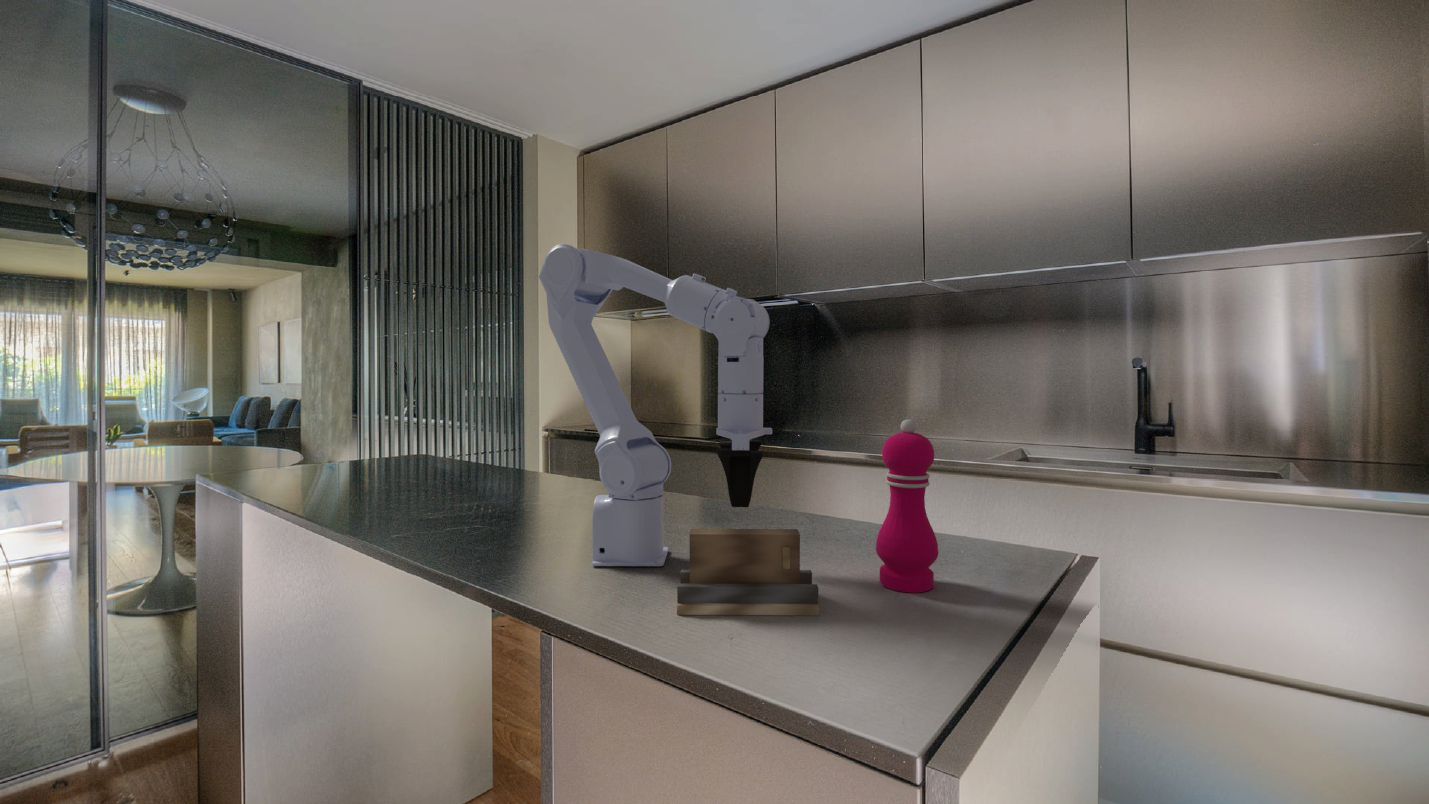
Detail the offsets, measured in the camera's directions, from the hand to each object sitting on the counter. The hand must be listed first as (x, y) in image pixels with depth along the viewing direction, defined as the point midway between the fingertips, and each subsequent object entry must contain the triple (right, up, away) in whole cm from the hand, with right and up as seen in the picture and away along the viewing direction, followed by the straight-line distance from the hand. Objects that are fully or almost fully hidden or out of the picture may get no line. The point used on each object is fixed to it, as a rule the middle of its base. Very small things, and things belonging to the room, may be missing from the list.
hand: (739, 500), depth 81 cm
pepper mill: (+20, -10, -4) cm, 23 cm away
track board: (0, -10, -10) cm, 14 cm away
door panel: (0, -9, -10) cm, 14 cm away
